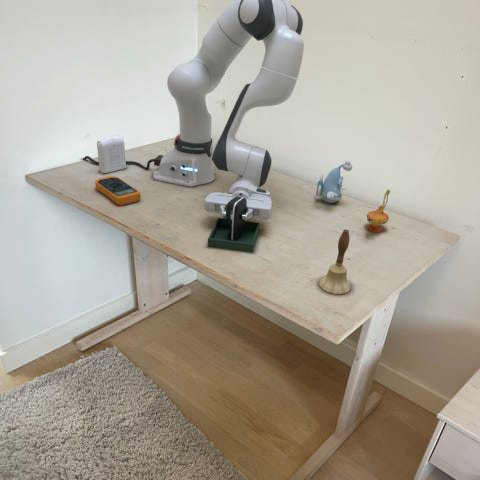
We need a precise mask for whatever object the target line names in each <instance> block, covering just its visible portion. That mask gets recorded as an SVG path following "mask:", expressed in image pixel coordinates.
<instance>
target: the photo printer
mask: <svg viewBox="0 0 480 480" xmlns="http://www.w3.org/2000/svg"><path fill="white" fill-rule="evenodd" d="M124 140H125V139H124V137H123V136H120V135H107V136H104V137H101V138H100V139H98V140H97V142H96V148H97V149H96V150H97V158H98V162H99V164H98V167H99V172H100V173H101V174H108V173H112V172H117V171H122V170H125V169H126V168H127V164H126V161H127V160H126V148H125V147H126V146H125V141H124Z"/></svg>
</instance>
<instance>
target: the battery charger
mask: <svg viewBox="0 0 480 480" xmlns="http://www.w3.org/2000/svg"><path fill="white" fill-rule="evenodd" d="M246 207H247V200H246V199H245V198H241V197H235V198H233V199H232V200H230V201H229V202H228V203H227V207H226V219H228V220H229V222H230V232H229V233H228V234H227V238H229V239H231V240H235V239H237V238H238V237H239V236H240V235H241V234H242V233H243V232H244V229H245V221H243V220H242V214H243V213H246Z"/></svg>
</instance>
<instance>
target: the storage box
mask: <svg viewBox="0 0 480 480" xmlns="http://www.w3.org/2000/svg"><path fill="white" fill-rule="evenodd" d="M260 226H261V222H258V221H248V220H247V221H245V229H244V232H243V233H242V234H241V235H240V236H239V237H238V238H237V239H235V240H231V239H229V238H227V234H228V233H229V232H230V222H229V220H228V219H226V218H222V217H217V218H216V220H215V222H214V224H213V227H212V229H211V231H210V233H209V235H208V238H207V248H216V249H222V250H229V251H230V250H231V251H239V252H245V253H246V252H247V253H254V250H255V248H256V244H257V240H258V237H259V233H260V229H261V228H260Z"/></svg>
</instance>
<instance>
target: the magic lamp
mask: <svg viewBox="0 0 480 480" xmlns="http://www.w3.org/2000/svg"><path fill="white" fill-rule="evenodd" d="M390 194H391V189H390V188H388V189H386V192H385V193H384V196H383V201H382V204H381V205H379V206H378V208H377V209H376V210H372V211H368V212H367V214H366V221H367V222H368V223H369V224H368V225H367V226H366V228H367V229H368V230H369V231H372V232H378V233H380V232H383V231H384V228H383V226H381V225H385V224H386V223H387V222H389V220H390V217H389V215H388V214H387V213H386V212H384V210H385V208H386V206H387V203H388V200H389V195H390Z"/></svg>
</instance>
